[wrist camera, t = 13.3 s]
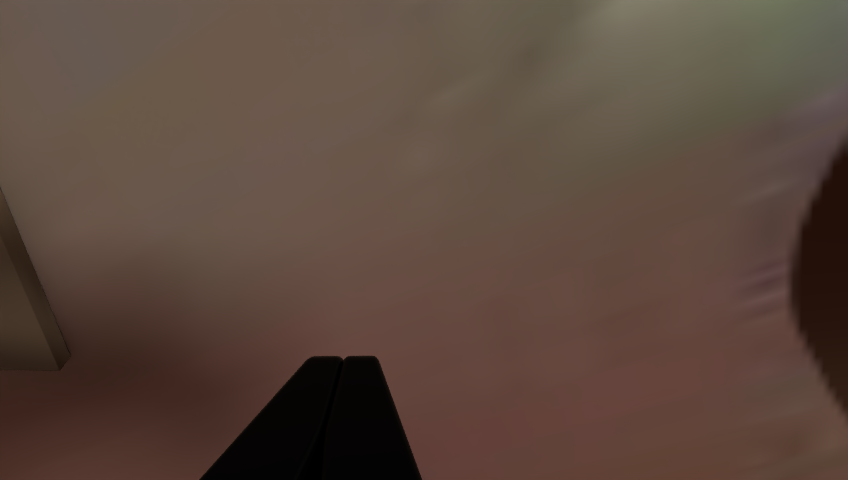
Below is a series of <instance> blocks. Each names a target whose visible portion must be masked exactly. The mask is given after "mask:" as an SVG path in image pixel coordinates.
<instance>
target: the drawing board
mask: <svg viewBox="0 0 848 480" xmlns="http://www.w3.org/2000/svg"><path fill="white" fill-rule="evenodd" d="M69 357H70V354H69V351H68V349H67V347H66V344H65V342H64V339H63V337H62V335H61V332H60V330H59V327H58V325H57V323H56V320H55V318H54V315H53V313H52V311H51V308H50V306H49V303H48V301H47V299H46V296H45V294H44V291H43V289H42V287H41V284H40V282H39V279H38V277H37V275H36V272H35V270H34V267H33V265H32V263H31V260H30V258H29V255H28V253H27V251H26V248H25V246H24V243H23V241H22V239H21V236H20V234H19V231H18V229H17V227H16V224H15V222H14V219H13V217H12V215H11V212H10V210H9V207H8V205H7V203H6V200H5V198H4V195H3V193H2V191H1V188H0V370H41V371H60V370H61V368H62V367H63V365H64V364H65V363H66V361H67V360H68V359H69Z"/></svg>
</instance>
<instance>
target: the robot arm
mask: <svg viewBox="0 0 848 480" xmlns="http://www.w3.org/2000/svg"><path fill="white" fill-rule="evenodd" d="M199 480H422V478H421V475H420V473H419V470H418V467H417V464H416V462H415V459H414V456H413V453H412V451H411V448H410V445H409V442H408V440H407V437H406V434H405V431H404V429H403V426H402V423H401V420H400V418H399V415H398V412H397V409H396V407H395V404H394V401H393V398H392V396H391V393H390V390H389V387H388V385H387V382H386V379H385V376H384V374H383V371H382V368H381V365H380V363H379V360H378V359H377V358H376V357H375V356H348V357H346V358H345V359H344V360H343V359H342V358H341V357H339V356H314V357H310V358H309V359H307V360H306V361H305V362H304V364H303V365H302V366H301V367H300V368H299V369H298V370H297V371H296V372H295V374H294V375H293V376H292V377H291V378H290V379H289V380H288V381H287V382H286V384H285V385H284V386H283V387H282V388H281V389H280V390H279V391H278V393H277V394H276V395H275V396H274V397H273V398H272V399H271V400H270V401H269V403H268V404H267V405H266V406H265V407H264V408H263V409H262V410H261V411H260V413H259V414H258V415H257V416H256V417H255V418H254V419H253V420H252V421H251V423H250V424H249V425H248V426H247V427H246V428H245V429H244V430H243V432H242V433H241V434H240V435H239V436H238V437H237V438H236V439H235V440H234V442H233V443H232V444H231V445H230V446H229V447H228V448H227V449H226V450H225V452H224V453H223V454H222V455H221V456H220V457H219V458H218V459H217V461H216V462H215V463H214V464H213V465H212V466H211V467H210V468H209V469H208V471H207V472H206V473H205V474H204V475H203V476H202V477H201V478H200V479H199Z"/></svg>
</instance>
